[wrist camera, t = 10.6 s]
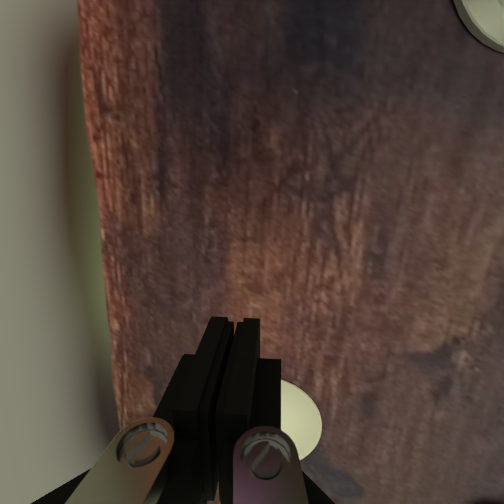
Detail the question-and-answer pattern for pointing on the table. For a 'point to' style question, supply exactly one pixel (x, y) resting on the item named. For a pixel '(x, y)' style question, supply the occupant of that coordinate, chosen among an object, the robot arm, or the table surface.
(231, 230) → the table surface
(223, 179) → the table surface
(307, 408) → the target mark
